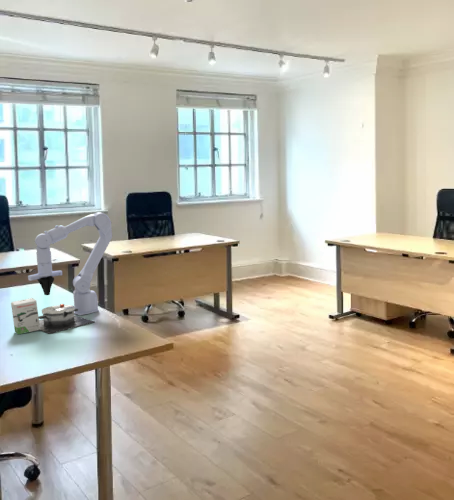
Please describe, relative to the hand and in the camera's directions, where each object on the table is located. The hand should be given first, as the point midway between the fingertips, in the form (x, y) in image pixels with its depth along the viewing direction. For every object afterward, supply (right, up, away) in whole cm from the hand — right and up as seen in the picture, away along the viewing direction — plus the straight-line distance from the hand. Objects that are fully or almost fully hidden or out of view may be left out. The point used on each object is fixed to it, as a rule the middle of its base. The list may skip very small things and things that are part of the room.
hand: (47, 294), depth 242 cm
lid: (+9, -6, -12) cm, 16 cm away
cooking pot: (+8, -11, -10) cm, 17 cm away
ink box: (-1, -12, -20) cm, 23 cm away
